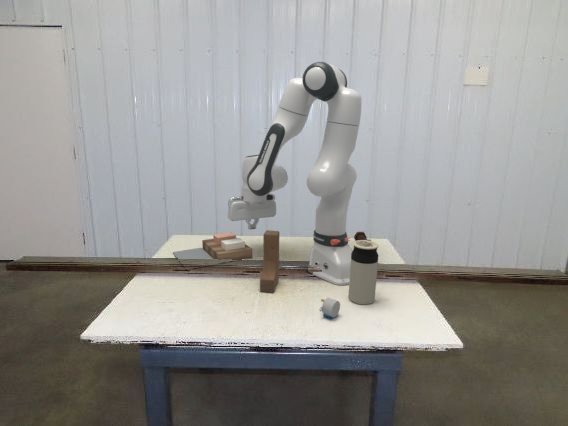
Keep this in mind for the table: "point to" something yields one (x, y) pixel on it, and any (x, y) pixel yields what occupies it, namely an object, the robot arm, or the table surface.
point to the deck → (220, 253)
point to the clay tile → (223, 237)
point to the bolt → (360, 236)
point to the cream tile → (232, 244)
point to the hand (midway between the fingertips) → (252, 228)
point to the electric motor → (330, 307)
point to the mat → (192, 254)
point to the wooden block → (270, 261)
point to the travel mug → (363, 272)
